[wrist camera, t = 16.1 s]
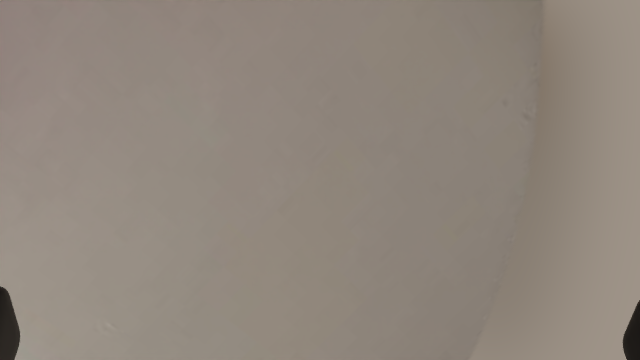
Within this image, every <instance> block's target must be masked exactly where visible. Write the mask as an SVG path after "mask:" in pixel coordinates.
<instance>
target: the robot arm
mask: <svg viewBox="0 0 640 360" xmlns="http://www.w3.org/2000/svg"><path fill="white" fill-rule="evenodd" d="M19 342H20V331H19V326H18V323H17V319H16V316H15V312H14V309H13V306H12V302H11V299H10V295H9V293H8V291H7V290H6V289H5V288H3V287H0V360H14V359H15V356H16V353H17V350H18V347H19ZM623 348H624V353H625V356H626V359H627V360H640V300H639V302H638V304H637V306H636V308H635V311H634V313H633V315H632V318H631V320H630V322H629V325H628V327H627V329H626V331H625V334H624V338H623Z"/></svg>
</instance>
